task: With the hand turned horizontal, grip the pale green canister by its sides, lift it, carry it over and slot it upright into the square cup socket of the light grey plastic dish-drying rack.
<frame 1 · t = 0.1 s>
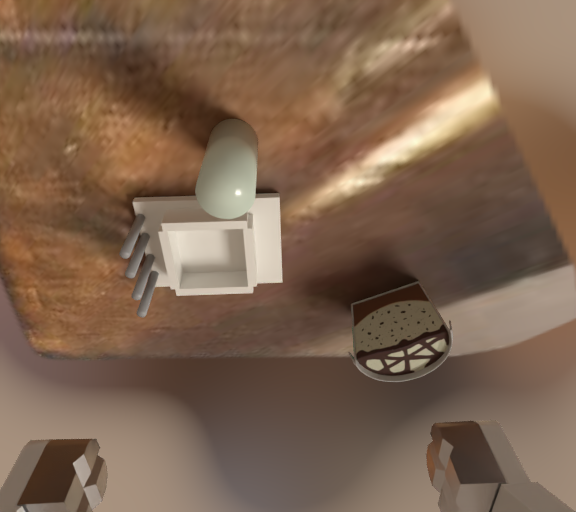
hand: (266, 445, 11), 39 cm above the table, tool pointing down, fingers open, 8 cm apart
food container: (390, 307, 62), on the table
pale green canister: (233, 142, 47), on the table
dish rack: (213, 240, 54), on the table
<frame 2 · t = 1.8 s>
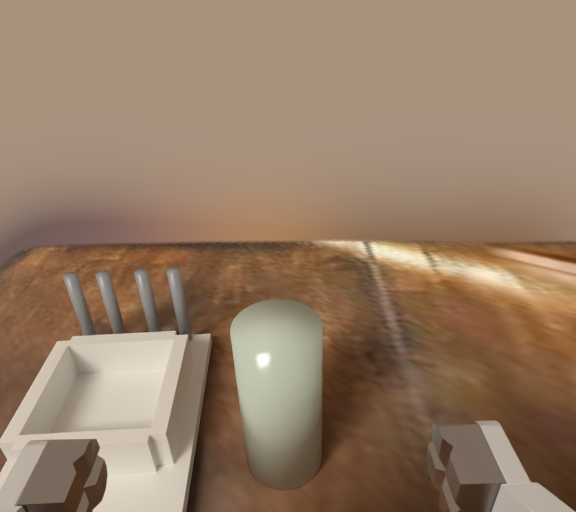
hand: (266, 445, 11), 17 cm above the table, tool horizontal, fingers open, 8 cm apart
pale green canister: (284, 454, 30), on the table
dish rack: (118, 421, 33), on the table
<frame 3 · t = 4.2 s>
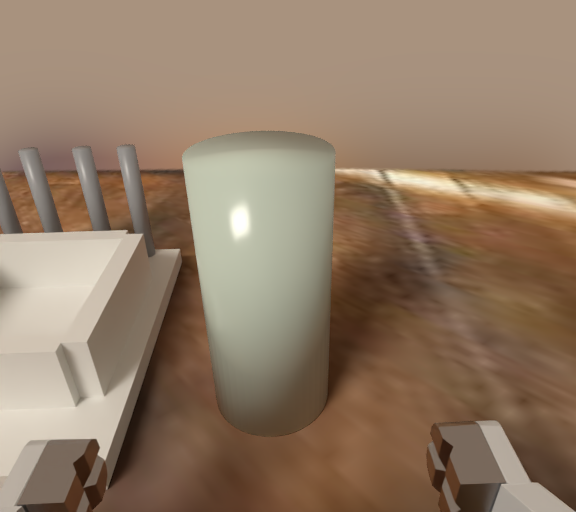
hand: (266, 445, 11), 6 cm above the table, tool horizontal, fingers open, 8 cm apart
pale green canister: (272, 389, 21), on the table
dish rack: (38, 346, 23), on the table
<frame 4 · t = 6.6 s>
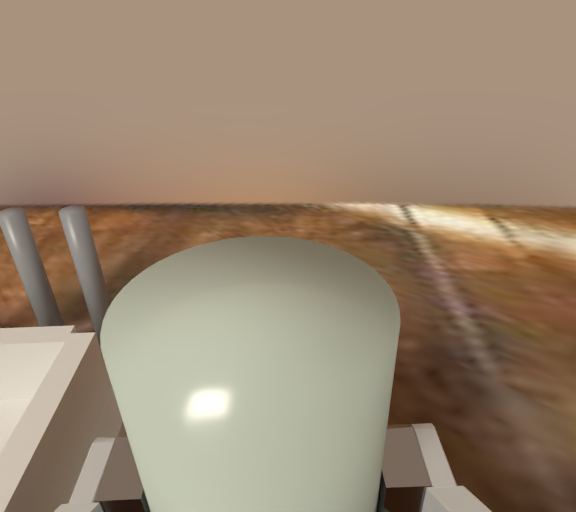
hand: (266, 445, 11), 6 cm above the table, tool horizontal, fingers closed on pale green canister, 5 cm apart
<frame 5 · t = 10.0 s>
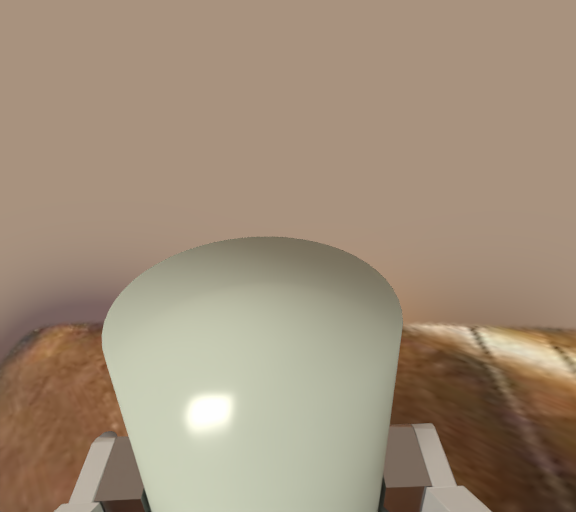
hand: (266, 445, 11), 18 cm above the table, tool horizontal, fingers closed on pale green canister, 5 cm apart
when the fingers open (8 cm above the table, at t = 13.3 s): pale green canister drops 1 cm, resting on dish rack.
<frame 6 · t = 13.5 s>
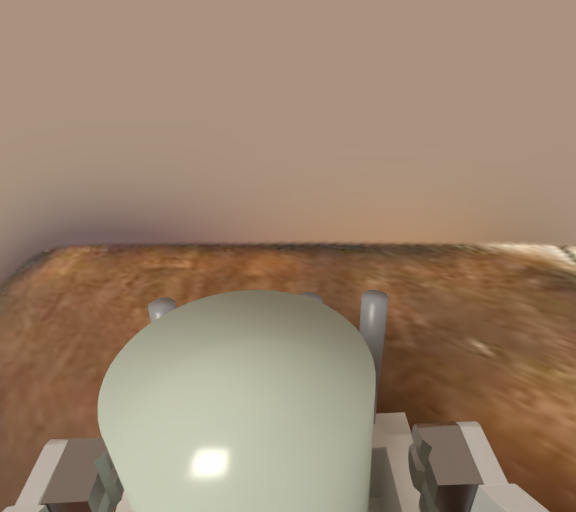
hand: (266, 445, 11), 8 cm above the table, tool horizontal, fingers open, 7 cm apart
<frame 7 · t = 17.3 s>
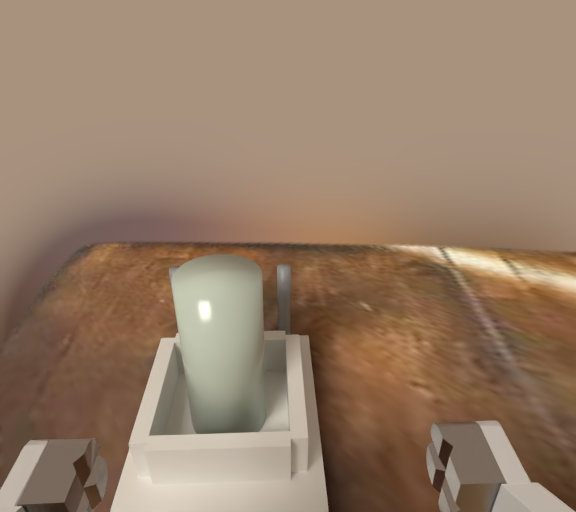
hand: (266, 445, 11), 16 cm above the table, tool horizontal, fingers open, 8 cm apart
pale green canister: (229, 414, 31), point 1 cm above the table, touching dish rack
dish rack: (229, 424, 31), on the table
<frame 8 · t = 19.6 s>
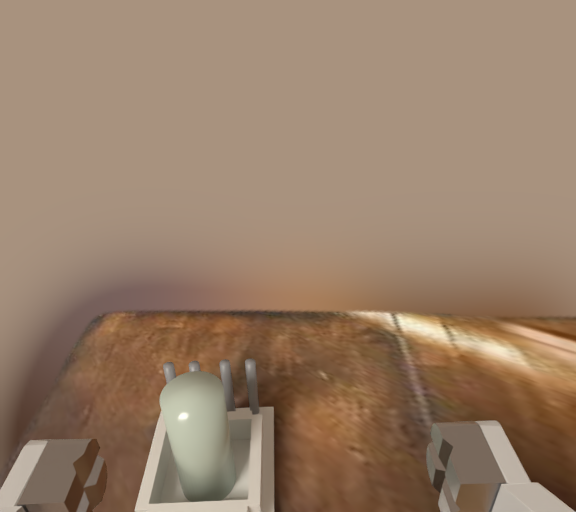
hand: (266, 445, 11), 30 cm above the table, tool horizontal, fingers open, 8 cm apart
pale green canister: (208, 478, 42), point 1 cm above the table, touching dish rack
dish rack: (209, 485, 42), on the table
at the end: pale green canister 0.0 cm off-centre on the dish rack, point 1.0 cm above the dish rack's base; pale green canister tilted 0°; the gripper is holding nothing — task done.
